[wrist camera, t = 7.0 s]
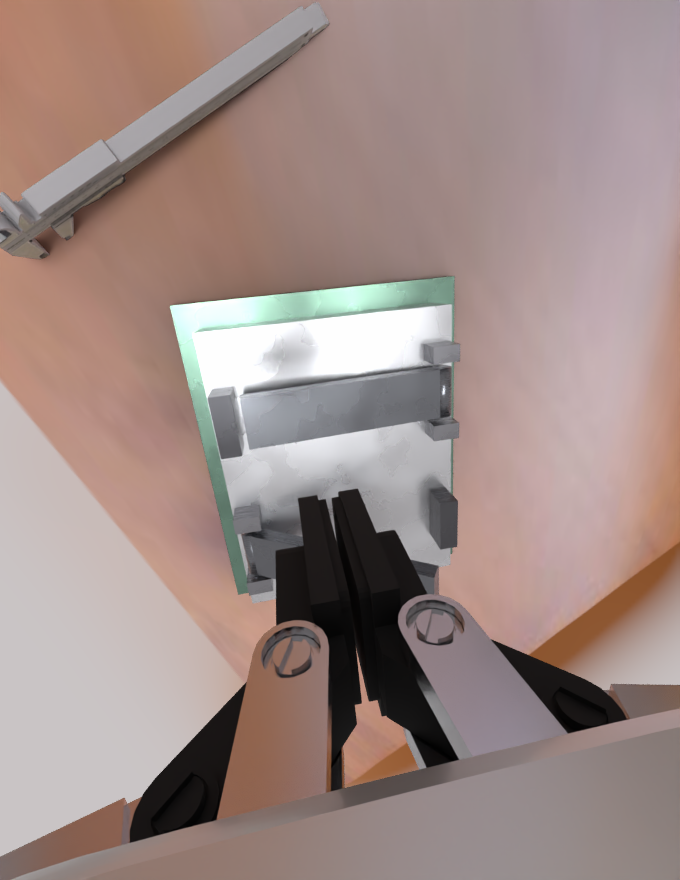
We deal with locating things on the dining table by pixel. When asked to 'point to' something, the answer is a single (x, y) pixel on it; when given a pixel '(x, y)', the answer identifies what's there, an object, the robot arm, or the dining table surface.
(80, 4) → the dining table surface
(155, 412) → the dining table surface
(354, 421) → the strap
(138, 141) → the caliper
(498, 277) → the dining table surface
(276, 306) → the base
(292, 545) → the strap
